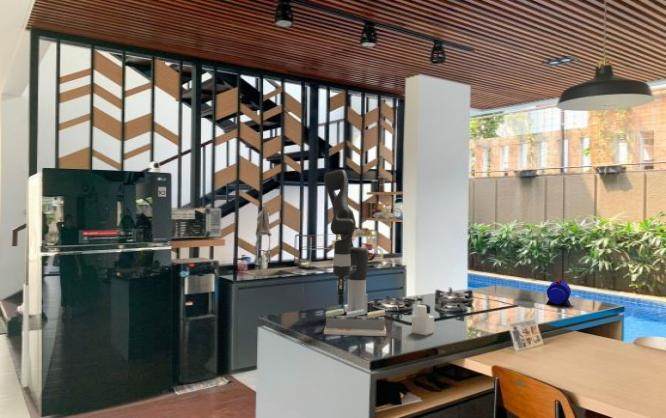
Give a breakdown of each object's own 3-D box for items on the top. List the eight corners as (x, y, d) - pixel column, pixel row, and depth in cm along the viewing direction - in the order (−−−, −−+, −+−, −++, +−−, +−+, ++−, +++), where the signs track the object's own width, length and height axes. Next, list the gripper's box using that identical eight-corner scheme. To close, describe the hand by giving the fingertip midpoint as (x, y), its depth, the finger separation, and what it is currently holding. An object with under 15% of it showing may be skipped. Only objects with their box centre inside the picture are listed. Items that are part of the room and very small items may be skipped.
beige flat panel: (385, 314, 224) (384, 309, 224) (386, 317, 219) (384, 311, 219) (368, 318, 225) (367, 312, 225) (368, 320, 220) (367, 314, 220)
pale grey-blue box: (364, 314, 225) (363, 308, 225) (364, 316, 220) (363, 311, 220) (347, 317, 225) (346, 312, 226) (347, 319, 220) (346, 314, 221)
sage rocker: (344, 313, 226) (343, 308, 226) (343, 316, 221) (342, 310, 221) (327, 316, 226) (326, 311, 226) (326, 319, 221) (325, 313, 221)
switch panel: (385, 329, 226) (385, 316, 226) (386, 336, 213) (386, 322, 213) (326, 327, 228) (326, 314, 228) (323, 334, 215) (324, 321, 215)
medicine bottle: (419, 330, 226) (420, 302, 226) (434, 332, 221) (434, 304, 221) (411, 332, 220) (411, 304, 220) (426, 335, 216) (426, 307, 216)
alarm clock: (571, 304, 298) (571, 278, 298) (568, 307, 287) (568, 280, 287) (548, 302, 304) (549, 276, 304) (545, 305, 294) (545, 278, 294)
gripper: (334, 262, 230) (333, 301, 230) (332, 265, 217) (331, 306, 217) (351, 263, 230) (350, 302, 229) (349, 266, 216) (348, 307, 216)
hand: (340, 304), depth 223 cm, fingers closed
